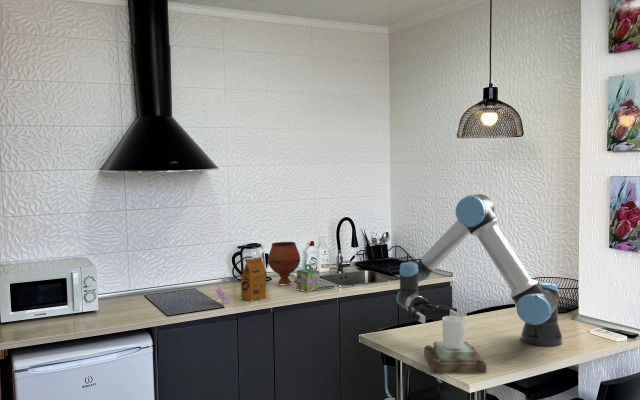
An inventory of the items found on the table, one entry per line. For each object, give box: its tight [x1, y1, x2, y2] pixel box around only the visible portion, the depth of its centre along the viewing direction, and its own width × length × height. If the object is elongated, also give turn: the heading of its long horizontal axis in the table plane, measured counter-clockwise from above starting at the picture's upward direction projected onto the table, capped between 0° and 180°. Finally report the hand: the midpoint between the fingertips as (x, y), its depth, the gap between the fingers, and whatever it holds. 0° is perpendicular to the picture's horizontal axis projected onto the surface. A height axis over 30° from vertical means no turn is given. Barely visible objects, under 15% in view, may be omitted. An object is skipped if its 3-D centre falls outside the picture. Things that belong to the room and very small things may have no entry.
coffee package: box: [240, 256, 267, 302], centre depth 309 cm, size 10×12×22 cm
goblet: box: [267, 241, 301, 284], centre depth 348 cm, size 19×19×25 cm
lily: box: [212, 283, 231, 306], centre depth 298 cm, size 12×12×10 cm
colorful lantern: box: [296, 263, 319, 291], centre depth 330 cm, size 9×9×15 cm
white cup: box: [441, 315, 466, 349], centre depth 202 cm, size 8×8×10 cm
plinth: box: [423, 341, 487, 374], centre depth 203 cm, size 18×18×6 cm
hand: (441, 318), depth 212 cm, fingers open, 13 cm apart
